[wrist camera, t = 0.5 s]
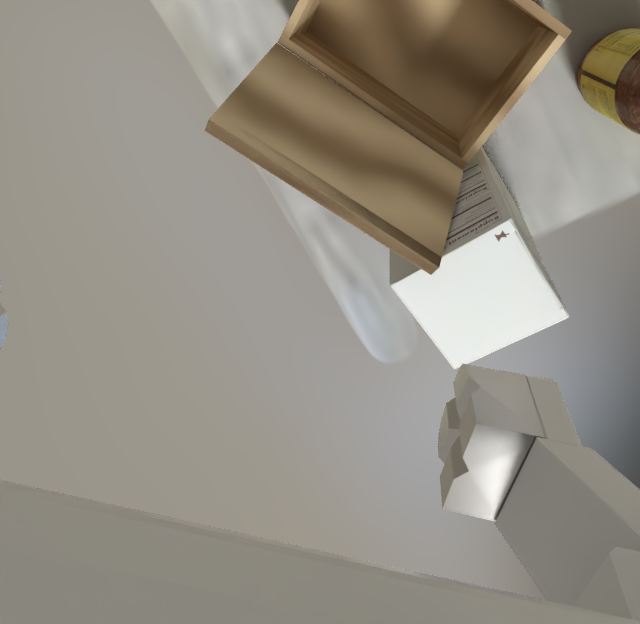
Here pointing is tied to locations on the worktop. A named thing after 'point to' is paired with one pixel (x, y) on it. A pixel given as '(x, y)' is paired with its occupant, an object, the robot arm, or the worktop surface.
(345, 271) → the worktop surface
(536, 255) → the supplement box
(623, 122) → the sauce bottle
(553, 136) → the worktop surface
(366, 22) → the bread box
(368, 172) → the lid
